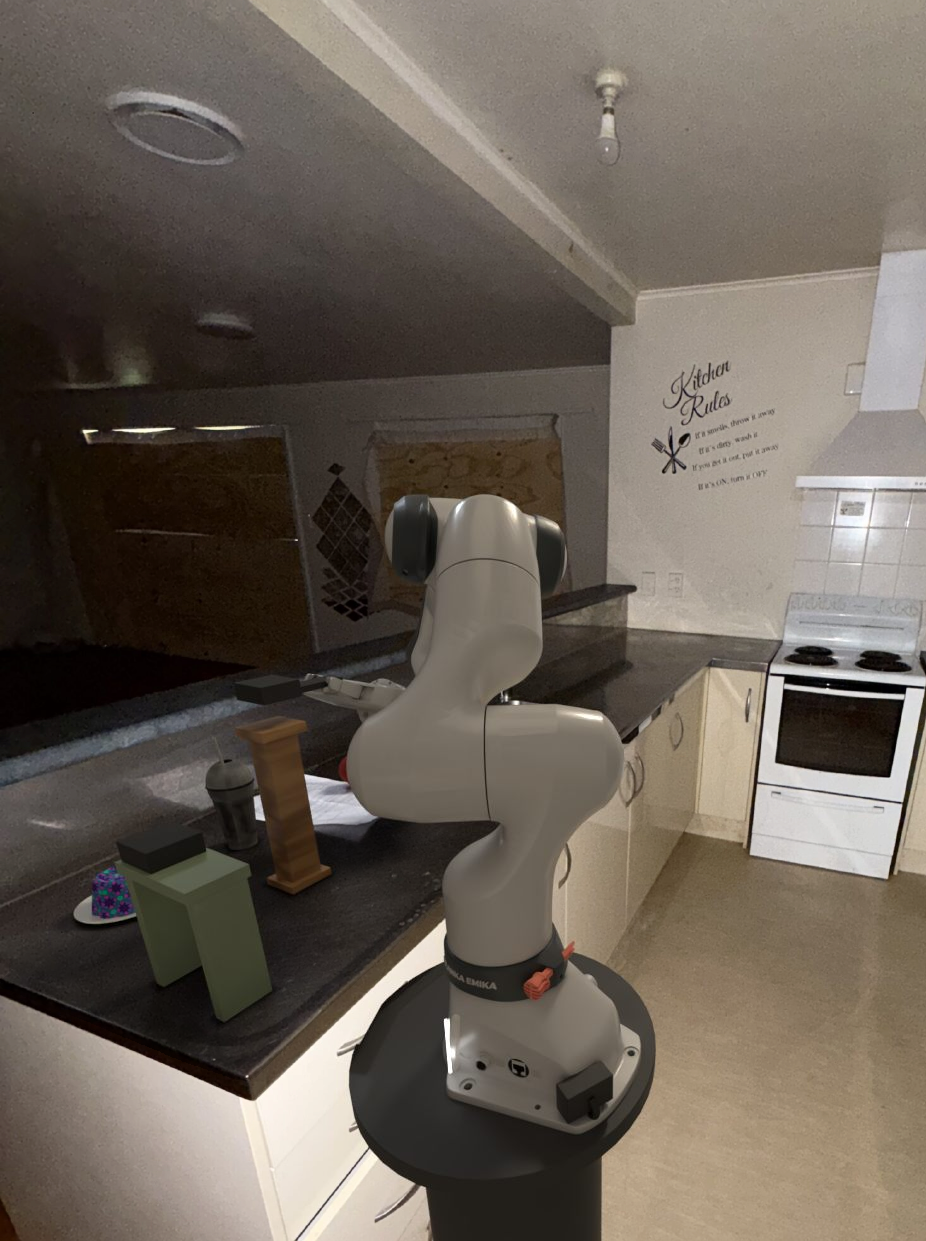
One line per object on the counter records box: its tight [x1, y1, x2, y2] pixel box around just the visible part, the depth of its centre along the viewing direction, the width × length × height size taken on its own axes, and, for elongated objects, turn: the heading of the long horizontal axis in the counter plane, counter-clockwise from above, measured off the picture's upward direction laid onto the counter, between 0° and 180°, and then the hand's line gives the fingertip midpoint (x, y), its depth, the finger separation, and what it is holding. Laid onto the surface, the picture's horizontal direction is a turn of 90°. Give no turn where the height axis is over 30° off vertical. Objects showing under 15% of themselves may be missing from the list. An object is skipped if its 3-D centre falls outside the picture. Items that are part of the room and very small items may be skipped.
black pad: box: [233, 674, 344, 706], centre depth 93 cm, size 6×14×2 cm, turn 151°
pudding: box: [72, 866, 137, 925], centre depth 92 cm, size 12×12×5 cm
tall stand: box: [234, 715, 333, 895], centre depth 95 cm, size 6×7×26 cm
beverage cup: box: [204, 736, 259, 851], centre depth 107 cm, size 7×7×20 cm
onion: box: [338, 755, 349, 784], centre depth 134 cm, size 6×6×8 cm
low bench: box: [114, 847, 273, 1023], centre depth 73 cm, size 14×7×17 cm, turn 61°
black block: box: [115, 820, 207, 874], centre depth 71 cm, size 6×6×2 cm
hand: (318, 680), depth 96 cm, fingers closed on black pad, 3 cm apart
